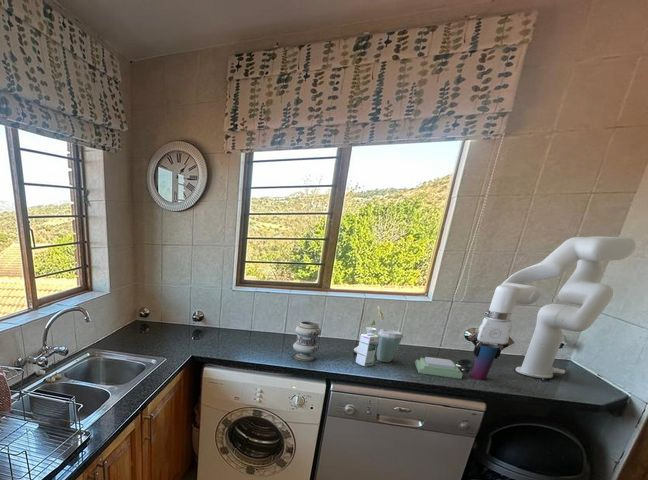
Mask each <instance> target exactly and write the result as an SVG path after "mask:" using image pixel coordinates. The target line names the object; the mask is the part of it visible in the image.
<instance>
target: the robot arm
mask: <svg viewBox="0 0 648 480" xmlns="http://www.w3.org/2000/svg"><path fill="white" fill-rule="evenodd" d="M636 243H637V242H636V241H635V240H634V239H633V238H631V237H624V236H602V235H593V236H575V237H570V238H568V239H566V240H565V241H563V242H562V243H561V244H560V245H559V246H558V247H557V248H555V249H554V250H553V251H552V252H551V253H549V254H548V255H547V256H546V257H545V258H544V259H543V260H541V261H540V262H537V263H535V264H533V265H530V266H528V267H525V268H523V269H520V270H518V271H516V272H514V273H513V274H511V275H510V276H509V277H508V278H506V279H505V280H504V281H503V282H502V283H501V284H499V285H498V286H496V288H495V290H494V292H493V293H494V294H493V296H492V299H491V302H490V305H489V309H487V311H483V313H482V314H483V316H485V317H484V318H483V319H482V321H481V323H480V325H479V327H478V329H477V331H476V332H475V333H473V334H471V335H469V336H467V337H468V339H469V340H470V342H471V343H472V345H474V349H473V351H472V354H473V355H474V356H475V357H476V356H478V354H479V351H480V345H481V344H482V343H489V344H494V345H497V346H499V349H498V351H497V353H496V356H495V358H494V360H498V358H499V357H500V356H501V352H502V351H503V350H504V349H507V348H508V347H510V346H512V345H513V344H515V341H514V340H513V338H512V337H511V331H512V326H513V320H511V317H512V315H513V312H514V309H515V307H516V305H517V304H518V305H525V306H527V305H533V304H535V303H537V302H538V301H539V300H540V299H541V297H542V291H541V289H540V288H538V287H537V286H534V285H529V283H532V282H536V281H543V280H548V279H552V278H553V279H554V278H558V277H560V276H562V275H563V274H564V273H565V272H566V271H568V270H569V269H570V268H571V267H572V266H574V265H575V264H576V267H575V269H574V271H573V272H572V274H571V275H570V276H569V278H568V279H567V280H566V282H565V283H564V284H563V286H562V287H561V289H560V290H559V292H558V293H557V299H558V300H559V302H562V303H564V304H561V303H548V304H545V305H543V306H542V307H540V308H539V310H538V312H537V314H536V321H535V328H534V331H533V333H532V337H531V339H530V342H529V345H528V347H527V349H526V350H527V351H526V354H525V355H524V359H523V361H522V364H521V366H516V367H515V372H517V373H519V374H520V375H524V376H528V377H531V378H537V379H552V378H553V377H554V374H559V375H564V374H565V373H566V370H565V369H561V368H559V367H554V366H553V364H554V362H555V359H556V357H557V354H558V352H559V350H560V347H561V344H562V342H563V340H564V334H563V330H566V331H569V332H570V331H571V332H576V333H581V332H584V331H586V330H587V329H589V328H590V327H591V326H592V325H593V324H594V322H595V321H596V320H598V319H597V318H598V317H600V315H602V313H603V311H605V309H606V307H607V306H608V305H609V304H610V302H611V300H612V299H613V296H614V290H613V287H611V286H610V285H609V284H605V283H599V281H600V279H601V278H602V277H603V276H604V272H605V269H604V264H603V262H611V261H612V262H613V261H622V260H624V259H627V258H629V257H630V256H631V255H632V254H633V253H634V251H635V250H636V245H637V244H636ZM565 303H566V304H565ZM567 304H569V305H567ZM572 305H574V306H572ZM575 305H576V306H575ZM578 306H580V307H578ZM475 339H476V340H475Z"/></svg>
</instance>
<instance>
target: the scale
mask: <svg viewBox="0 0 648 480" xmlns="http://www.w3.org/2000/svg"><path fill="white" fill-rule="evenodd" d="M452 363H453V364H454V366H455V369H450V368H442V367H435V366H427V364H426V362H425V357H420V359H415V362H414V365H415V367H416V370H417V372H418V374H424V375H431V376H438V377H445V378H453V379H460V380H461V379H463V376H464V375H463V373H462V371H461V370H460V368H459V366H458V365H457V364H455V362H454V361H452Z"/></svg>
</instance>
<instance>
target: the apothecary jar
mask: <svg viewBox="0 0 648 480" xmlns="http://www.w3.org/2000/svg"><path fill="white" fill-rule="evenodd" d="M319 326H320V325H319V322H316V321H313V320H302V321H300V322H299V325H297V326H296V327H295V329H294V330H295V333H296V334H297V335H296V340H295V342H294V343H293V344H292V348H293V350H294V352H297V353H296V354H295V355H293V358H294V359H296V360H297V361H301V362H313V361H315V359H316V357H315V356H314V355H312V354H316V353H317V352H319V349H320V346H319V344H318V338H319V336H320V335H321V334H322V329H321V328H320V327H319Z"/></svg>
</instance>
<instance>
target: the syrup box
mask: <svg viewBox="0 0 648 480" xmlns="http://www.w3.org/2000/svg"><path fill="white" fill-rule="evenodd" d="M379 338H380V336H378V334H375V333H373V334H371V333H370V334H367V333H361V334H360V336H359V342H358V346H359V347H358V353H356V358H355V364H358V365H360V366H362V367H368V366H370V367H371V366H374V365H375V361H376V358H377V355H376V352H377V348H378V343H379Z"/></svg>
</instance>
